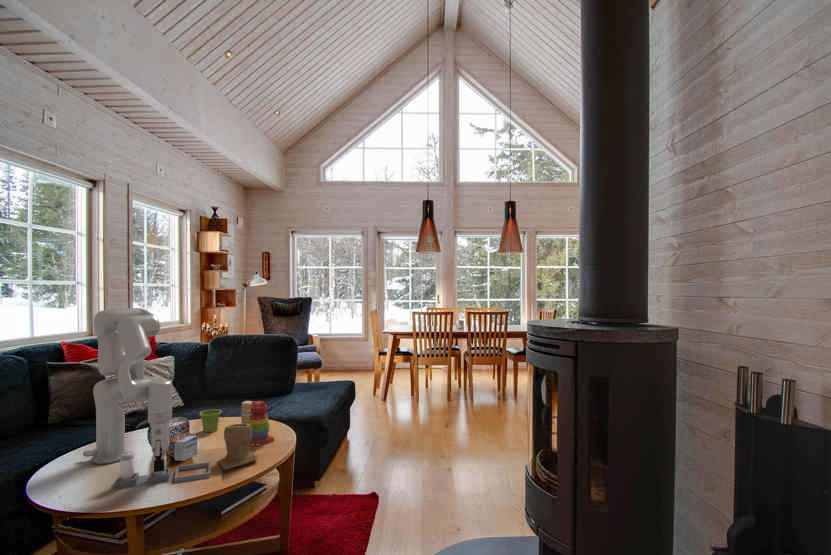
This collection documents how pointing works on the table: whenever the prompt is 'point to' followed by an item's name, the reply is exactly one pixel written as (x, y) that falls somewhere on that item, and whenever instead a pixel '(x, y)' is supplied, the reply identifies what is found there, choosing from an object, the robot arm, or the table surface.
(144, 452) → the table surface
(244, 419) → the supplement box
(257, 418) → the stacking bear
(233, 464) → the brown piece
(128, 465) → the plain fuse
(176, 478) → the tray
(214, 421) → the plant pot
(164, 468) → the marked fuse
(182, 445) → the medicine box
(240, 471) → the table surface
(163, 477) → the fuse block
